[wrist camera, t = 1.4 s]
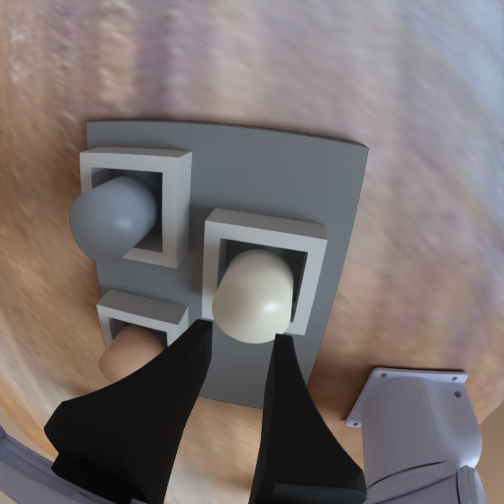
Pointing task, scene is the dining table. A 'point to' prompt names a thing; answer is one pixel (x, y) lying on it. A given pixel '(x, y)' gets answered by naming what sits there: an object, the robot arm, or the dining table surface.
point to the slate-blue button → (113, 218)
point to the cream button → (254, 297)
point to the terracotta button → (129, 352)
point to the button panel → (226, 232)
